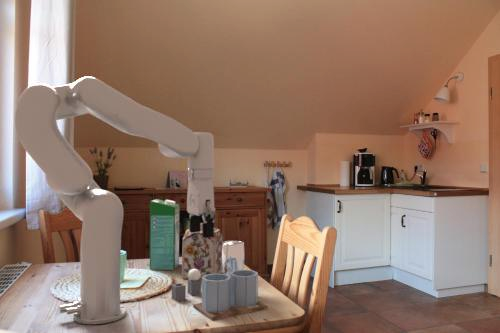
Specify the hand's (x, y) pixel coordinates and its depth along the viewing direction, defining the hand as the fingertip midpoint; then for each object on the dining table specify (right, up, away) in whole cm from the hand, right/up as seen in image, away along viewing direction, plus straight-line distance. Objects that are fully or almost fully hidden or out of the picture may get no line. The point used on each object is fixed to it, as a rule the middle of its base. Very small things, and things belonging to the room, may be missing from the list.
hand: (201, 234), depth 122 cm
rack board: (+9, -18, -9) cm, 22 cm away
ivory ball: (-3, -14, +3) cm, 15 cm away
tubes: (+9, -18, -9) cm, 22 cm away
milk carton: (-18, -18, +35) cm, 43 cm away
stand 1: (-6, -18, -2) cm, 19 cm away
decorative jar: (-2, -18, +24) cm, 30 cm away
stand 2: (-3, -18, +3) cm, 19 cm away
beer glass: (+9, -18, +5) cm, 21 cm away
